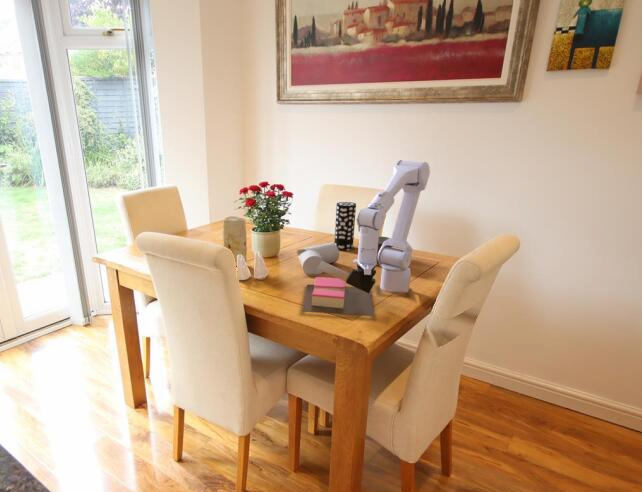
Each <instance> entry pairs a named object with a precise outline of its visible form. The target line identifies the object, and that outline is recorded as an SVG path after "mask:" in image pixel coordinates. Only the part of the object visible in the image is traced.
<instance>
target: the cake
mask: <svg viewBox="0 0 642 492" xmlns="http://www.w3.org/2000/svg"><path fill="white" fill-rule="evenodd" d="M313 285H314V289H320V290H332V291H343V292H345V286H346V282H345V281H343V280H341V279H339V278H336V277H325V276H323V277H321V276H315V279H314V284H313Z"/></svg>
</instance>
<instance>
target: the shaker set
mask: <svg viewBox="0 0 642 492" xmlns="http://www.w3.org/2000/svg"><path fill="white" fill-rule="evenodd" d="M237 271H238V276H239V280H238V281H246V280H248V279H249V278H250V277H252V273H251V271H250V269H249V266H248V264H247V262H245V259H244V257H243V255H242V254H241V258H240V255H238V256H237V267H236V272H237ZM268 274H269V270H268V268H267V264H266V263H265V260H264V258H263V255H262V252H261V251H255V252H254V263H253V278H254V279H257V280H258V281H262V280H265V279H266V278H267V276H268Z"/></svg>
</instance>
